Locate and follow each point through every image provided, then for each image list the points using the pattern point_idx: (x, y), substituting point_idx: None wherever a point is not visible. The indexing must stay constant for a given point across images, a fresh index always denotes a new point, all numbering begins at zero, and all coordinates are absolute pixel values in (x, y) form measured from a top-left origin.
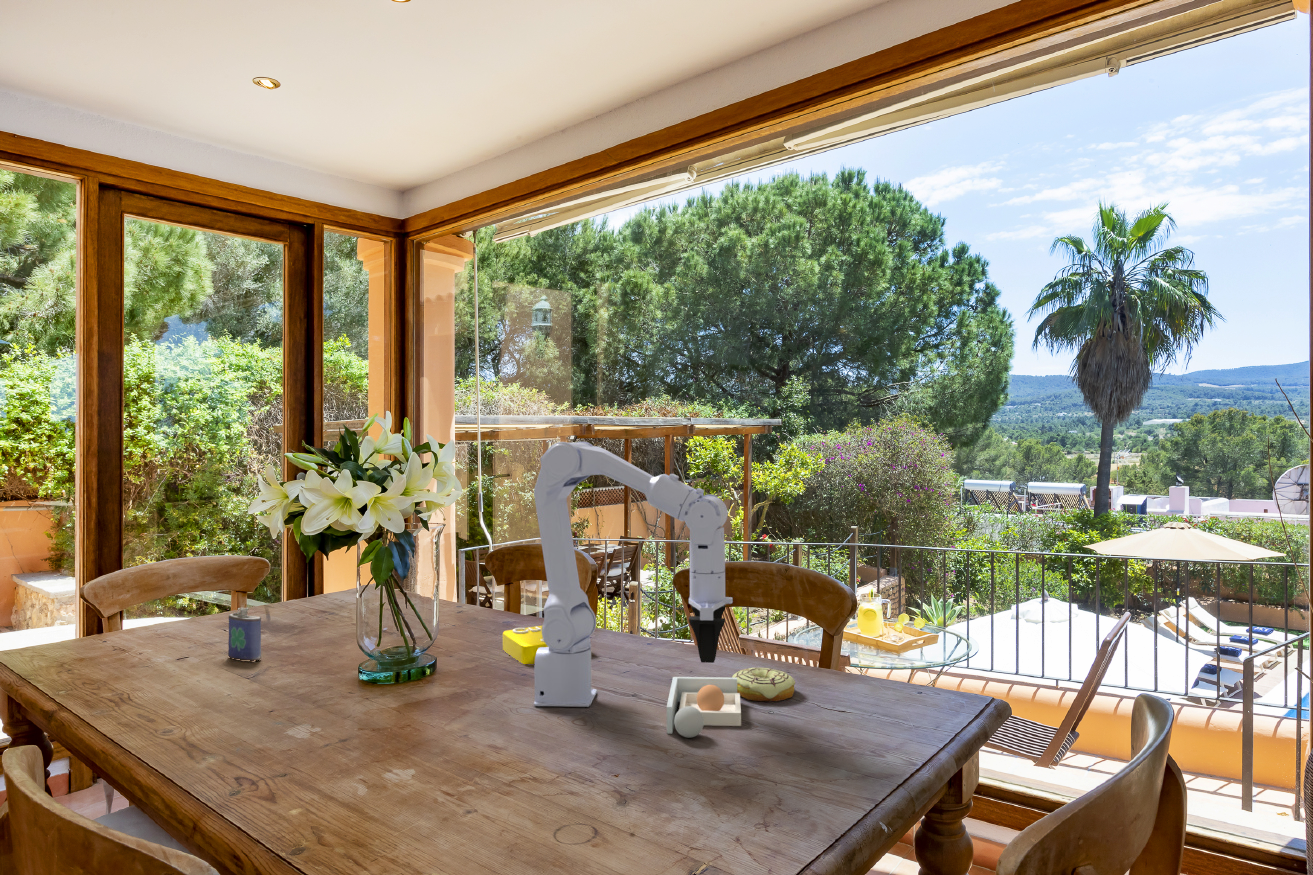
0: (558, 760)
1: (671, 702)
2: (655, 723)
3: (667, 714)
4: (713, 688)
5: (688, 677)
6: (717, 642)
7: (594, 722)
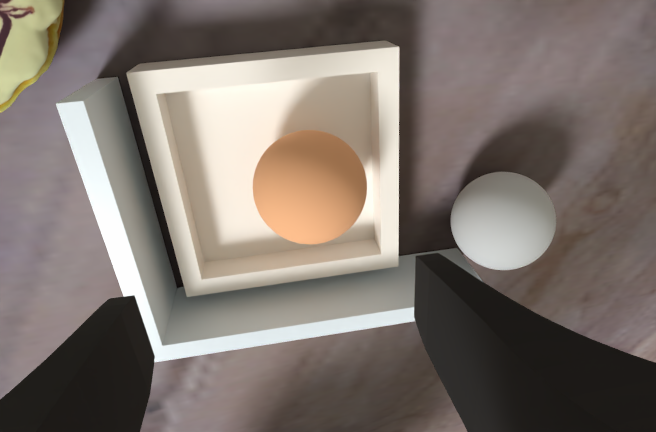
0: None
1: None
2: None
3: None
4: (338, 193)
5: None
6: (535, 313)
7: (382, 422)
